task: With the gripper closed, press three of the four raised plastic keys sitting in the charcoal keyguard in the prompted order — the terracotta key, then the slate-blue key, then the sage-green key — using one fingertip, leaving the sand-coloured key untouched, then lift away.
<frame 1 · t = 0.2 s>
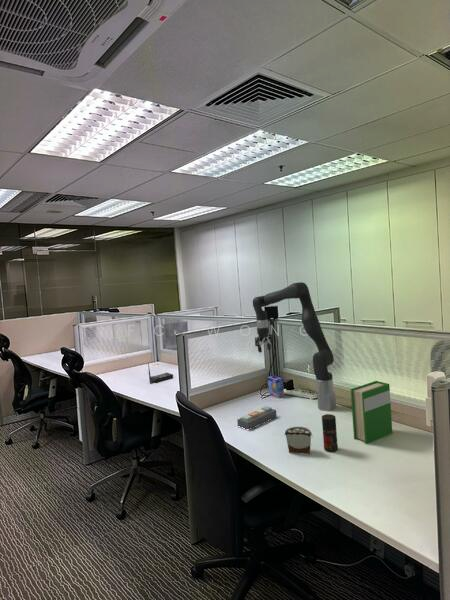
hand: (264, 351, 254), 29 cm above the table, fingers open, 8 cm apart
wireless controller: (159, 381, 315), on the table
keyguard: (257, 421, 212), on the table
hardback book: (373, 436, 182), on the table
key terracotta: (253, 416, 210), point 4 cm above the table, slide at 0.0 cm
deodorant: (331, 449, 173), on the table
key slate: (266, 410, 216), point 4 cm above the table, slide at 0.0 cm
key sage: (246, 419, 206), point 4 cm above the table, slide at 0.0 cm
food container: (300, 450, 175), on the table
ink cartridge box: (276, 396, 251), on the table
key sand: (260, 413, 213), point 4 cm above the table, slide at 0.0 cm
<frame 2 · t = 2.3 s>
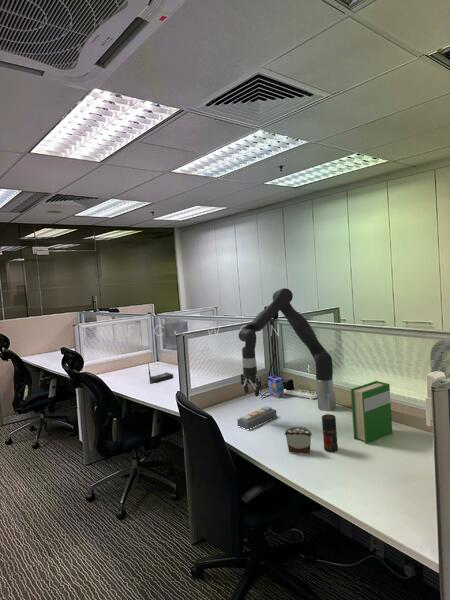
hand: (251, 394, 211), 15 cm above the table, fingers open, 8 cm apart
nothing on the table moved.
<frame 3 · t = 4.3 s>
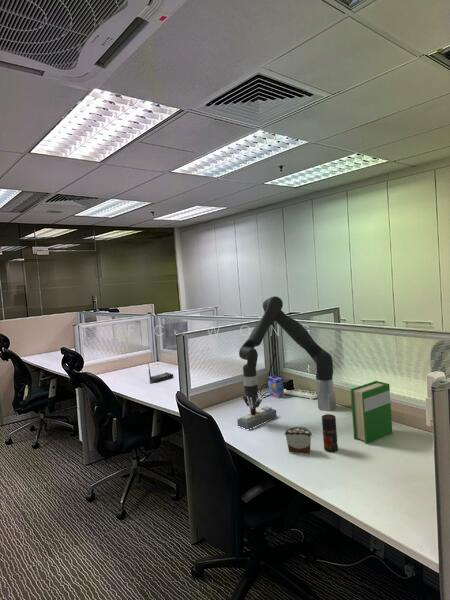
hand: (253, 414, 210), 5 cm above the table, fingers closed
key terracotta: (253, 417, 210), point 3 cm above the table, slide at -0.6 cm, touching gripper
everything else where it was.
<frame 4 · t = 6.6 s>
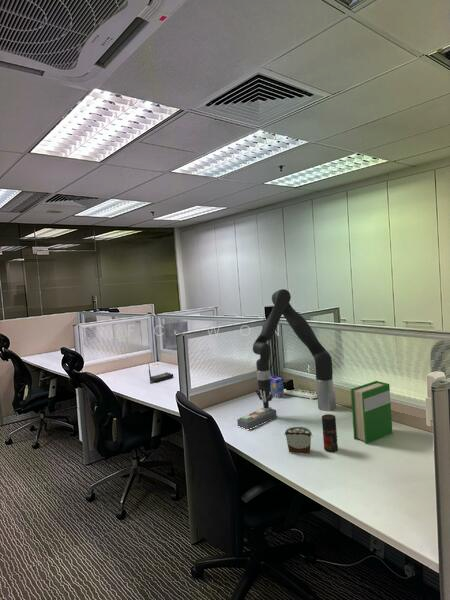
hand: (266, 407, 216), 5 cm above the table, fingers closed
key terracotta: (253, 418, 210), point 3 cm above the table, slide at -1.3 cm
key slate: (266, 410, 216), point 4 cm above the table, slide at -0.1 cm, touching gripper
everything else where it was.
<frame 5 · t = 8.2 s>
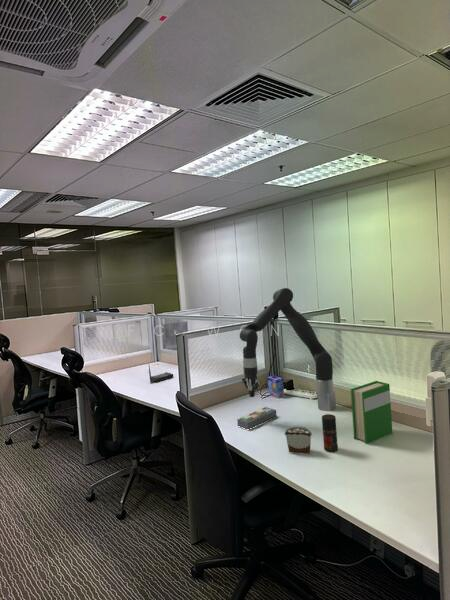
hand: (252, 396, 211), 14 cm above the table, fingers closed
key slate: (266, 412, 216), point 3 cm above the table, slide at -1.3 cm
everything else where it was.
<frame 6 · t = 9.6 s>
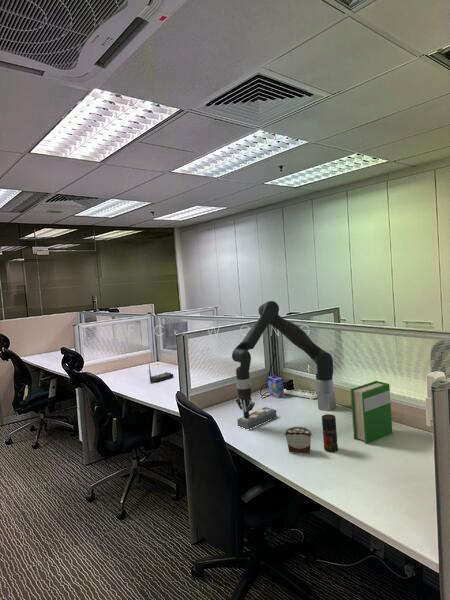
hand: (246, 418, 206), 5 cm above the table, fingers closed
key sage: (247, 420, 206), point 3 cm above the table, slide at -0.8 cm, touching gripper
everything else where it was.
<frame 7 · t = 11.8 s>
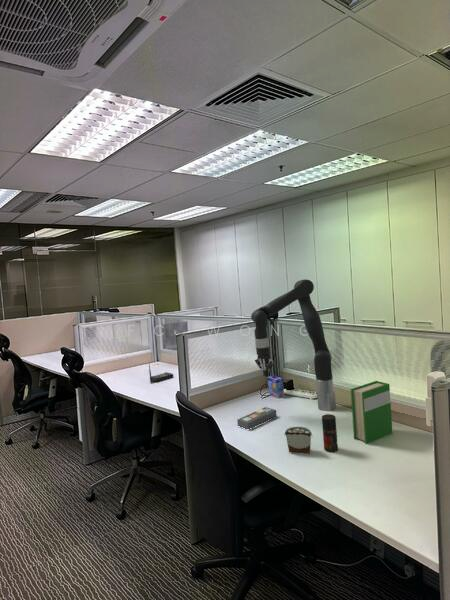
hand: (266, 376, 216), 23 cm above the table, fingers closed
key sage: (247, 421, 206), point 3 cm above the table, slide at -1.3 cm
everything else where it was.
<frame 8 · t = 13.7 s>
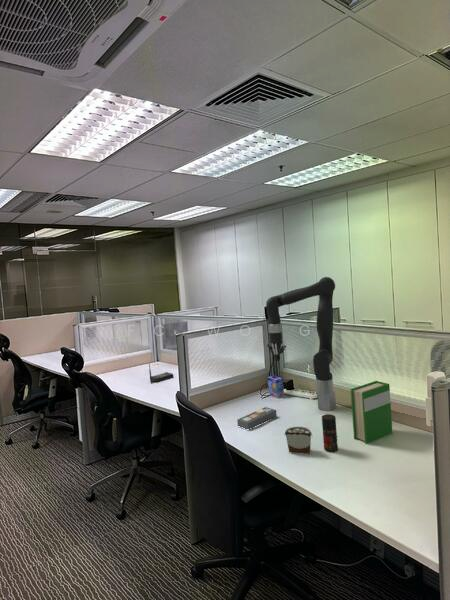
hand: (277, 360, 225), 29 cm above the table, fingers closed
at the end: key terracotta slide at -1.3 cm; key sage slide at -1.3 cm; key sand slide at 0.0 cm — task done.
